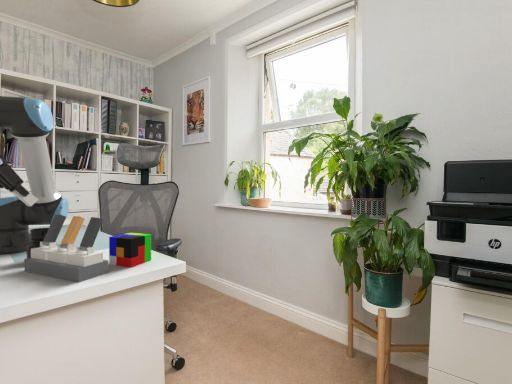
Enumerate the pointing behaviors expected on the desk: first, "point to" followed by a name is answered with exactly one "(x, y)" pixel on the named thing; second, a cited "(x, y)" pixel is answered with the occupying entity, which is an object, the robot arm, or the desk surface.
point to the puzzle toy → (129, 249)
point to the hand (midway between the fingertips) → (33, 202)
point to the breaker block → (68, 255)
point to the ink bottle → (36, 239)
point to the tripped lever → (72, 231)
